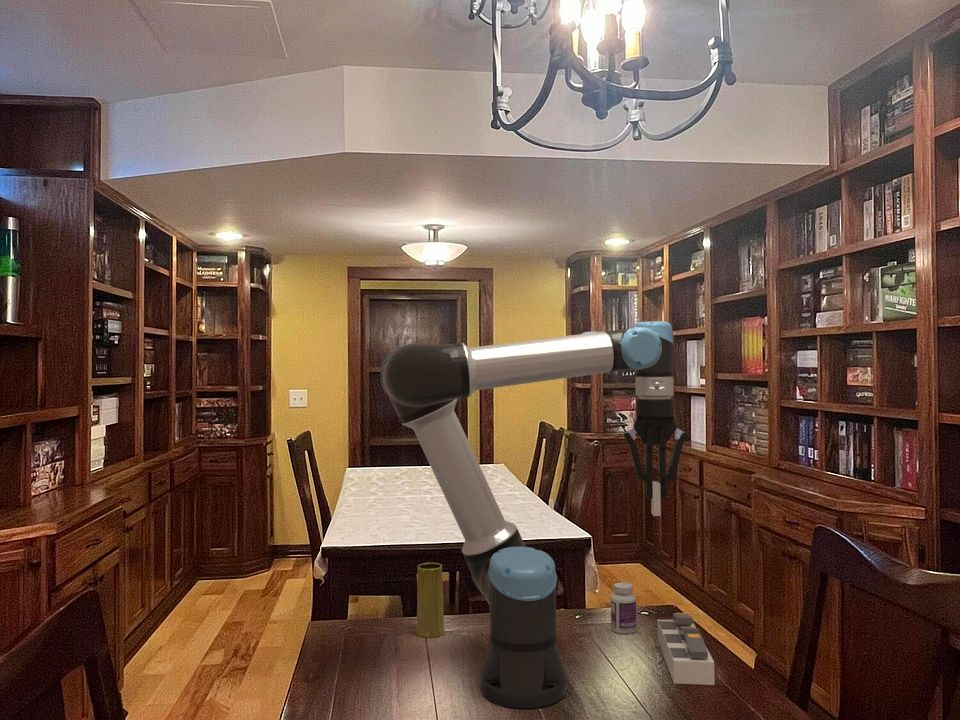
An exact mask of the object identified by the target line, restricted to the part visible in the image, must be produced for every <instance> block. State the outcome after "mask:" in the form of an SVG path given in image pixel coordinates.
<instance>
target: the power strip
mask: <svg viewBox="0 0 960 720" xmlns="http://www.w3.org/2000/svg"><path fill="white" fill-rule="evenodd" d="M656 621H657V641H658V644H659V646H660V649H661V652H662V655H663V657H664V660H665V663H666V665H667V668H668V670H669V674H670V676H671V679H672V682H673V684H674V685H675V684H677V685H678V684H679V685H681V684H682V685H704V686H705V685H706V686H707V685H708V686H715V661H714V659H713V657H712V655H711V653H710V652H709V650H708V648H707V647H706V649H707V651H708V658H690V655H689V652H688V649H687V646H686V643H685V640H684V638H685V636H683V635H681V634H679V632H678V627H681V626H683V627H693V628H697V627H696V625H695V623H694V622H693V625H691V624H677V623H676V622H675V621H674V620H673V619H656Z"/></svg>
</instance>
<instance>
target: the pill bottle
mask: <svg viewBox="0 0 960 720" xmlns="http://www.w3.org/2000/svg"><path fill="white" fill-rule="evenodd" d="M633 590H634V589H633V584H631V583H628V582H617V583H614V584H613V593H612V594H611V596H610V628H611V630H612V631H613V633H614V632H615V633H617V634H619V635H630V634H634V633H635V632H636V631H637V598H636V596H635V594H633V592H634V591H633Z"/></svg>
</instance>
